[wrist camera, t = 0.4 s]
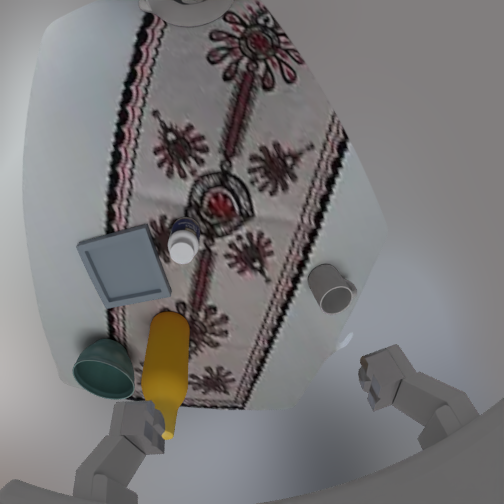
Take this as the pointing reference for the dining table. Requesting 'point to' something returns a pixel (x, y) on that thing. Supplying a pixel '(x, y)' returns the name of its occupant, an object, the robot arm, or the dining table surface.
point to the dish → (125, 267)
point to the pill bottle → (184, 240)
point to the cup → (331, 289)
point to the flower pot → (105, 370)
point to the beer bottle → (167, 366)
